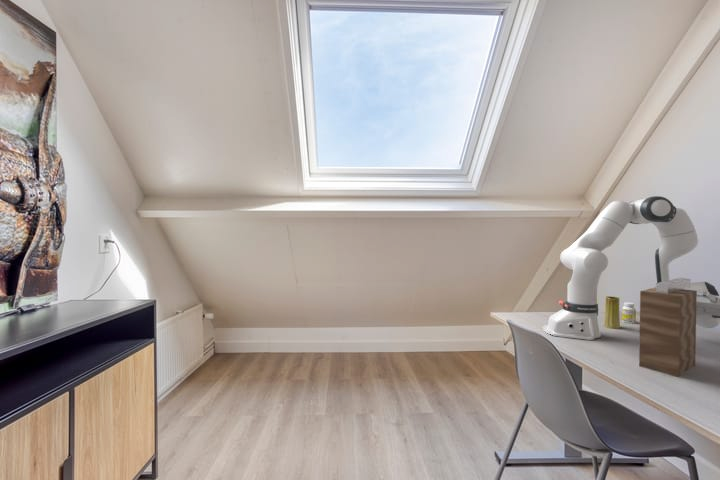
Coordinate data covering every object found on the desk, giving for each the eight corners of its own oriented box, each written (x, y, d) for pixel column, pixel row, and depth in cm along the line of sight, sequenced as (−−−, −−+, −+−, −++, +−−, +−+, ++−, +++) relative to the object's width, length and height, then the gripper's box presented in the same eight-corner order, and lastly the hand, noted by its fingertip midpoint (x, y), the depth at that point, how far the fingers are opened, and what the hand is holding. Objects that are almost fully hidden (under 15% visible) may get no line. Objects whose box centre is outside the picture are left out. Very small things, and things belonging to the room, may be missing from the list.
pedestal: (678, 377, 104) (679, 296, 103) (639, 366, 112) (640, 291, 112) (695, 365, 112) (696, 290, 111) (657, 356, 121) (658, 286, 120)
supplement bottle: (627, 323, 162) (628, 304, 161) (619, 320, 167) (619, 302, 167) (638, 323, 162) (638, 304, 161) (629, 320, 167) (629, 301, 167)
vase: (623, 329, 153) (623, 299, 153) (608, 328, 154) (608, 298, 154) (615, 325, 159) (615, 296, 159) (601, 324, 160) (601, 296, 160)
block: (667, 293, 107) (667, 284, 107) (655, 292, 110) (655, 283, 110) (690, 286, 118) (690, 278, 118) (679, 285, 121) (679, 277, 121)
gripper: (664, 294, 137) (653, 280, 131) (737, 303, 120) (729, 288, 113) (661, 308, 136) (650, 294, 130) (734, 319, 118) (725, 304, 112)
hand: (687, 291), depth 121 cm, fingers open, 8 cm apart
